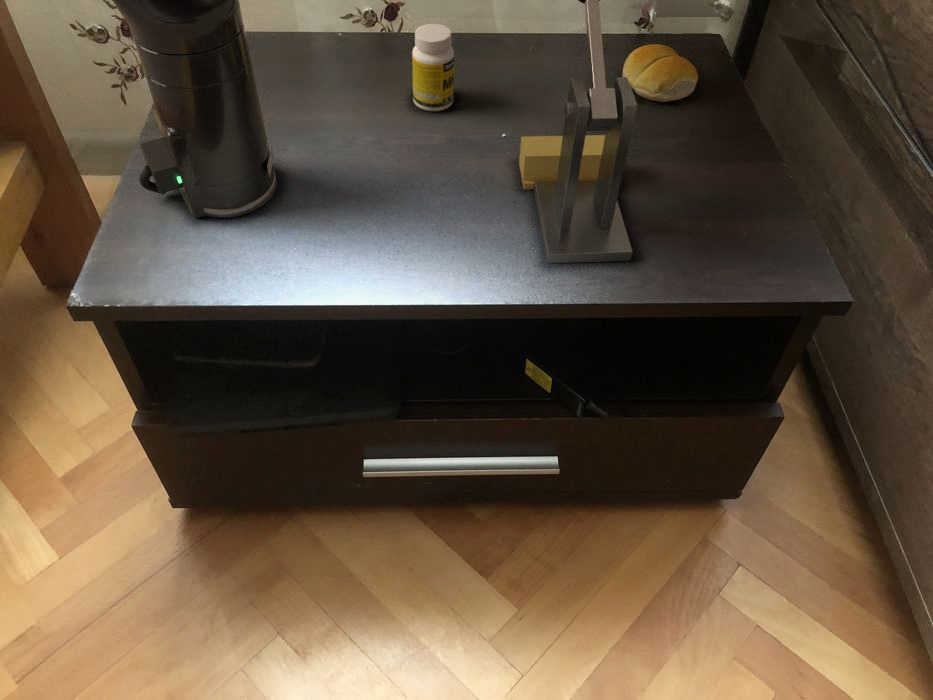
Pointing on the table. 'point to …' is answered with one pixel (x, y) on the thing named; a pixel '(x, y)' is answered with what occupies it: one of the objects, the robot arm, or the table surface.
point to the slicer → (587, 186)
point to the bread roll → (660, 73)
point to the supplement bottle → (433, 67)
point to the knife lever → (598, 74)
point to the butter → (556, 158)
